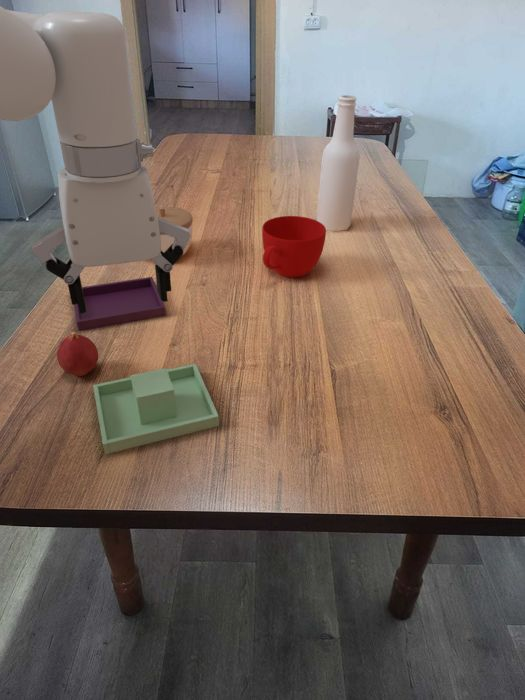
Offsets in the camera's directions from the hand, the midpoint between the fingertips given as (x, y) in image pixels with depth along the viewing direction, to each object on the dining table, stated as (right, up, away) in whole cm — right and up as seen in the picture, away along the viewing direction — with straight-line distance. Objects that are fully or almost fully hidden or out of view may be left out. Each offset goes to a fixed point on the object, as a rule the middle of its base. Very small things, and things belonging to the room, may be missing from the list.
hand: (123, 302), depth 60 cm
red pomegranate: (-11, -10, +16) cm, 22 cm away
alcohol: (+35, +26, +66) cm, 79 cm away
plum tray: (-10, +2, +32) cm, 33 cm away
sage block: (+2, -14, +9) cm, 17 cm away
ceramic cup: (+22, +10, +44) cm, 50 cm away
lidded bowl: (-4, +15, +50) cm, 52 cm away
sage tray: (+2, -15, +10) cm, 18 cm away
